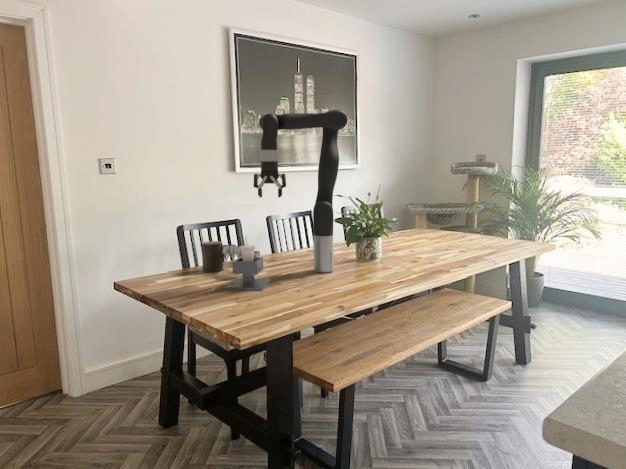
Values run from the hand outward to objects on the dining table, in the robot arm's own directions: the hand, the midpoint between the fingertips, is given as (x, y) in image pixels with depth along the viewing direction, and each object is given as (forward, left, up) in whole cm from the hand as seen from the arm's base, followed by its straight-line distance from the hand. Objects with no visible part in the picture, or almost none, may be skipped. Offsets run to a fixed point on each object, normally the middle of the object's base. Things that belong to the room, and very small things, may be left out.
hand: (270, 197), depth 217 cm
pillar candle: (+31, -8, -36) cm, 48 cm away
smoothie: (+6, +17, -29) cm, 34 cm away
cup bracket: (+6, +17, -36) cm, 40 cm away
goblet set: (+16, -3, -36) cm, 40 cm away
